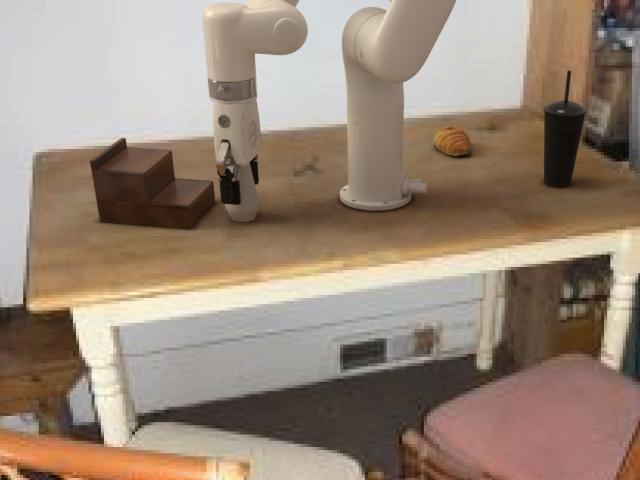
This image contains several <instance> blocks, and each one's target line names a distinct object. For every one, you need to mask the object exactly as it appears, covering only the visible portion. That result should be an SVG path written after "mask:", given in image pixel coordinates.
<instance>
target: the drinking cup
mask: <svg viewBox="0 0 640 480" xmlns="http://www.w3.org/2000/svg"><path fill="white" fill-rule="evenodd" d="M571 78H572V71H571V70H567V71H566V78H565V79H566V80H565V88H564V89H565V90H564V99H559V100H555V101H552V102H550V103H546V104H545V105H543V106H542V111H543V113H544V114H543V115H544V119H543V121H544V123H543V183H544V185H546V186H548V187H551V188H566V187H569V186H571V184H572V180H573V174H574V169H575V164H576V160H577V155H578V151H579V145H580V141H581V138H582V137H581V136H582V132H583V128H584V123H585V118H586V115H587V114H588V108H587V107H586V106H585V105H583V104H581V103H579V102H577V101H575V100H569V95H570V88H571V87H570V86H571Z"/></svg>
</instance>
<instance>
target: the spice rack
mask: <svg viewBox="0 0 640 480" xmlns="http://www.w3.org/2000/svg"><path fill="white" fill-rule="evenodd" d="M89 165H90V170H91V175H92V176H91V177H92V182H93V188H94V193H95V194H94V195H95V200H96V206H97V212H98V219H99V222H100V223H109V224H120V225H134V226H144V227H154V228H155V227H157V228H166V229H167V228H168V229H178V230H179V229H182V230H191V229H192V228H193V227H194V226H195V225H196V224H197V223H198V222H199V221H200V220H201V219H202V218H203V216H205V214H207V212H208V211H209V210H210V209H211V208H212V207H213V206H214V205H215V204H216V195H215V185H214V180H203V179H193V178H192V179H191V178H179V177H177V178H176V174H175V166H174V165H175V164H174V157H173V150H171V149H162V148H161V149H159V148H146V147H145V148H144V147H131V146H128V144H127V138H126V137H121V138H119V139H118V140H116V141H115V142H114V143H112V144H111V145H110V146H108V147H106V148H105V149H104V150H102V151H101V152H100V153H98V154H96V155H95V156H94V157H93V158H91V159H90V160H89Z"/></svg>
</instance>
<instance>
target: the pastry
mask: <svg viewBox="0 0 640 480" xmlns="http://www.w3.org/2000/svg"><path fill="white" fill-rule="evenodd" d="M433 144H434V147H435V148H436V149H437V150H438V151H439V152H441V153H442V154H444V155H447V156H453V157H457V156H458V157H459V156H462V155H469V153H470V152H471V150H472V143H471V139H470V137H469V135H468V134H467V132H466V131H464V130H463V129H458V127H455V126H452V125H449V126H444V127H443V128H440V129H439V130H438V131H437V132H436V133H435V135H434V137H433Z"/></svg>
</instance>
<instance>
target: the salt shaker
mask: <svg viewBox="0 0 640 480" xmlns="http://www.w3.org/2000/svg"><path fill="white" fill-rule="evenodd" d="M228 161H235V160H233V159H228ZM227 168H229V169H230V171H231V172H232V171H233V167H227ZM237 180H239V181H240V195H241V203H240V204H239V205H232V204H224V207H225V209H226V211H227V213H228V214H229V217H230V218H231V220H233V222H237V223H247V222H251V221H254V220H255V219H256V216H257V215H258V211H259V209H260V207H261V202H260V198H259V195H258V191H257V188H256V185H255V183H254V179H253V175H252V171H251V167H250V163H248V164H247V165H246V166H241V164H239V169H238V176H237Z"/></svg>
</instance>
